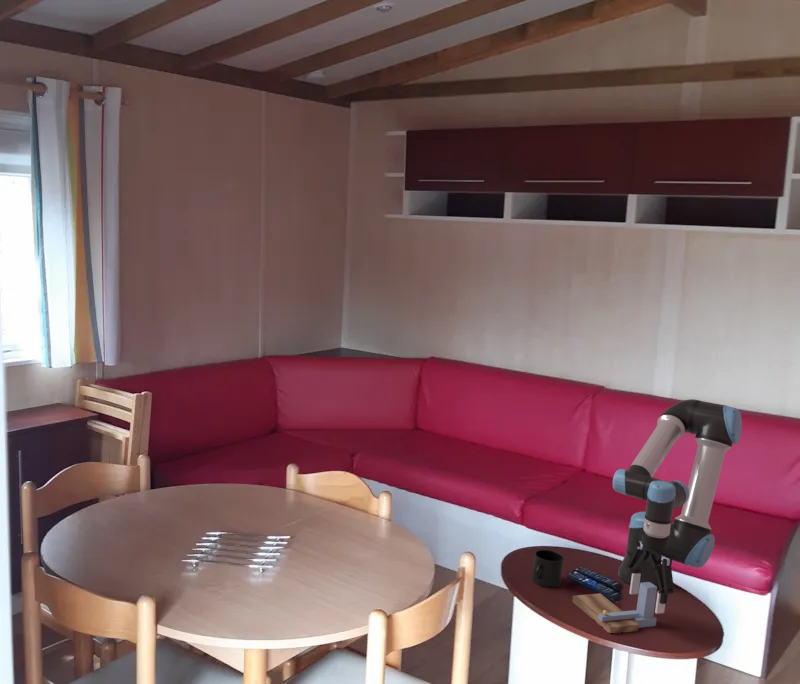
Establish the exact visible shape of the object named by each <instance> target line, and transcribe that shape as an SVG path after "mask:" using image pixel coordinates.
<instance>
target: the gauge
mask: <svg viewBox="0 0 800 684" xmlns="http://www.w3.org/2000/svg"><path fill="white" fill-rule="evenodd" d="M657 590H658V588H657V587H656V586H655V585H653V584H652V583H651V582H643V583H640V587H639V591H638V594H637V596H638V597H637V602H636V603H637V604H636V610H635V609H632V610H624V611H623V610H622V612H612V613H607V611H606V610H603V613H601V614H598V619H599V620H601V621H612V620H622V619H633V620H634V621H636V622H637V623H638V624H639V629H641V628H651V627H656V626H657V620H658V619H657V617H655V615H654V613H655V608H656V601H657V594H658V591H657Z"/></svg>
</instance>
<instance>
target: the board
mask: <svg viewBox="0 0 800 684" xmlns="http://www.w3.org/2000/svg"><path fill="white" fill-rule="evenodd" d="M572 603H574V605H576V606H577V607H578V608H579V609H580V610H581V611H582V612H584V613H585V614H586V615H587V616H588V617H589V618H591V619H592V620H593V619H594V620H595V621H596V622H595V621H594V620H593V621H594V622H595V623H596V624H597V625H599V626H600V627H601V626H602V627H603V630H605V631H606V632H607V633H608V632H609V633H614V634H621V632H623V633H630V632H639V629H640V628H639V624H638V623H637V622H636V621H634V620H633V619H622V620H612V621H601V620H599V619H598V614H601V613H603V610H606V611H607V613H612V612H622V611H623V610H622V609H621V608H619V607H618V606H617V605H616V604H614V603H613V602H611V600H609V599H608V598H607V597H605V596H604V595H603V594H602V593H600V592H599V593H591V594H590V593H588V594H578V595H572ZM602 627H601V628H602ZM609 633H608V634H609Z"/></svg>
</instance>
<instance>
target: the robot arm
mask: <svg viewBox="0 0 800 684" xmlns="http://www.w3.org/2000/svg"><path fill="white" fill-rule="evenodd" d="M742 428H743V420H742V414H741V412H740V410H739V409H738V408H736V407H732V406H729V405H726V404H721V403H715V402H708V401H705V400H699V399H691V398H690V399H684V400H682V401H678V402H676V403H674V404H672V405H671V406H669V407H668V408H666V409H665V410H663V412H662V413H661V415H660V416H659V417H658V418H657V420H656V427H655V429H654V430H653V432H652V433H651V434H650V436H649V437H648V438H647V441H646V442H645V444H644V445H643V447H642V448H641V450H640V451H639V453H638V454H637V455H636V457H635V459H634V460H633V461H632V463H631V465H630V466H629V467H628V469H622V468H620V469H617V470H616V471H615V472H614V474H613V478H612V488H613V490H614V491H615V492H616V493H619V494H622V495H624V496H628V497H631V498H632V497H633V498H635V499H639V500H642V501H646V505H645V511H638V512H635V513H633V515H631V517H630V522H629V525H628V535H627V542H626V550H625V555H624V557H623V559H622V560H621V564H620V565H619V566H618V572H617V577H618V578H619V579H620V580H621V581H622V582H624V583H625V584H627V585H630V586H629V595H639V588H640V583H643V582H651V583H652V584H653V585H655V586H656V587H657V589H659V590H658V591H657V593H656V600H655V607H654V613H655V614H665V609H666V604H667V603H668V596H669V595H671V594H674V593H675V587H674V578H673V570H672V564H673V561H674V562H676V563H681V564H684V566H690V567H693V568H696V569H697V568H699V569H700V568H702V567H704V566H705V565H706V564H707V563H708V561H709V559H710V557H711V555H712V553H713V550H714V546H715V542H716V541H715V540H716V539H715V536H714V535H713V534H711V532H712V528H711V525H710V524H709V519H710V515H711V511H712V508H713V503H714V499H715V495H716V491H717V487H718V483H719V479H720V475H721V472H722V467H723V462H724V459H725V455H726V453H727V452H728V451H729V450H731V449H732V447H733V444H735V445H736V444H738V443H739V442H740V439H741V436H742V431H743V429H742ZM687 433H688V434H693V435H695V437H694V440H695V442H696V444H697V449H696V452H695V453H696V454H695V457H694V461H693V466H692V469H691V473H690V477H689V482H688V485H686V484H685V483H684V482H682V481H681V480H671V481H667V480H663V479H660V478H656V477H654V475H655V474H656V472H657V470H658V469H659V467H660V466H661V464H662V463H663V461H664V460H665V458H666V456H667V455H668V453H669V452H670V450H671V449H672V448H673V446H674V444H675V443H676V441H677V440H678V439H680V438H682V437H683V436H684V435H685V434H687ZM679 507H682V509H681V514H679V515H677V516H676V517H675V518H674V521H673V522H672V519H673V518H672V517H673V511H675V510H677V509H678V508H679Z"/></svg>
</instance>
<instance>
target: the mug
mask: <svg viewBox="0 0 800 684" xmlns="http://www.w3.org/2000/svg"><path fill="white" fill-rule="evenodd" d="M564 560H565V558H564V556H563V555H562V554H561V553H559V552H557V551H553V550H550V549H539V550H536V551H534V559H533V566H532V573H531V580H532V582H533V583H534V584H536V585H538V586H540V587H545V588H557V587H559V586H560V585H561V584H562V583H561V582H562V577H563V576H562V573H563V567H564Z"/></svg>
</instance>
